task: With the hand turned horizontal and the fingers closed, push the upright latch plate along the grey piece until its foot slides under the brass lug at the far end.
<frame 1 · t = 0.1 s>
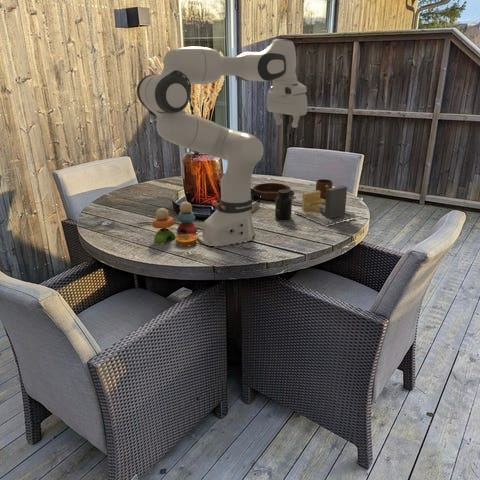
hand: (286, 125, 167), 39 cm above the table, tool pointing down, fingers open, 8 cm apart
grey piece: (326, 216, 187), on the table
mug: (324, 202, 207), on the table
wooden stacking toy: (182, 238, 168), on the table
supplement bottle: (283, 218, 186), on the table
dish: (271, 197, 215), on the table
latch plate: (332, 201, 182), point 8 cm above the table, slide at 0.0 cm
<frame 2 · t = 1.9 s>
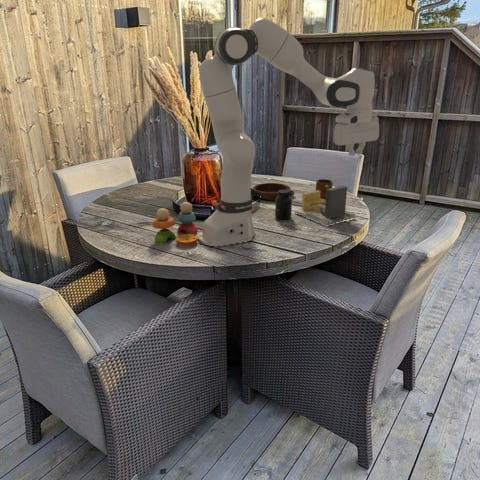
hand: (355, 154, 163), 29 cm above the table, tool pointing down, fingers closed
nothing on the table moved.
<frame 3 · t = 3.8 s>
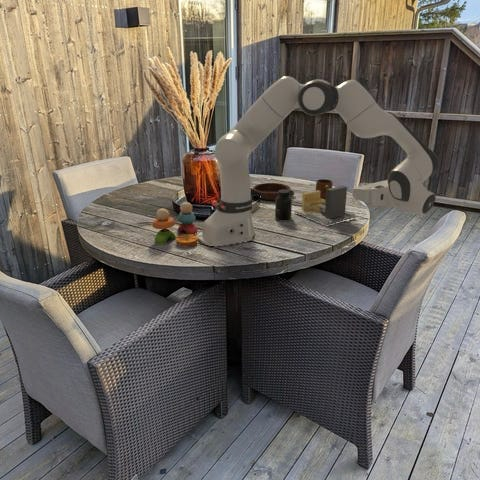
hand: (360, 185, 167), 18 cm above the table, tool horizontal, fingers closed
nothing on the table moved.
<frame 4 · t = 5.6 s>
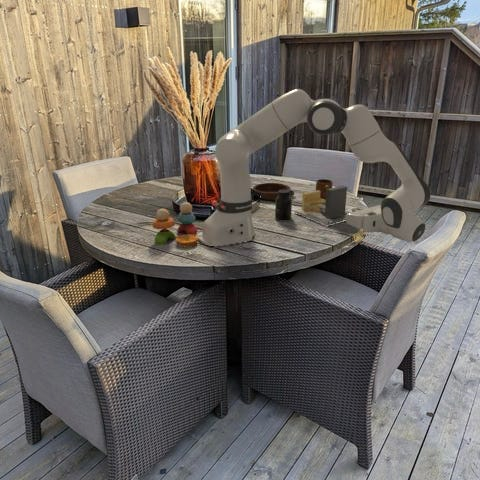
hand: (354, 209, 172), 7 cm above the table, tool horizontal, fingers closed
nothing on the table moved.
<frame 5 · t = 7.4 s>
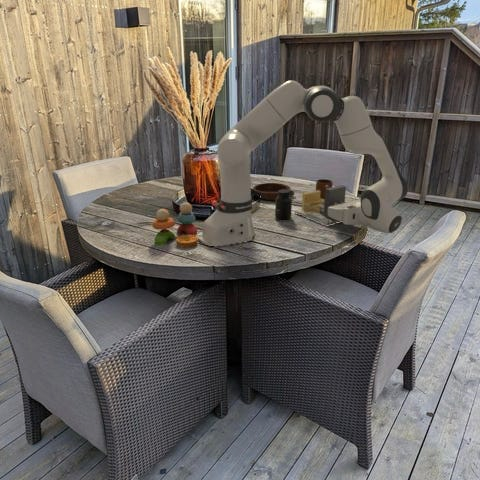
hand: (336, 203, 180), 7 cm above the table, tool horizontal, fingers closed, pressing on latch plate
latch plate: (331, 200, 182), point 8 cm above the table, slide at 0.7 cm, touching gripper
everything else where it was.
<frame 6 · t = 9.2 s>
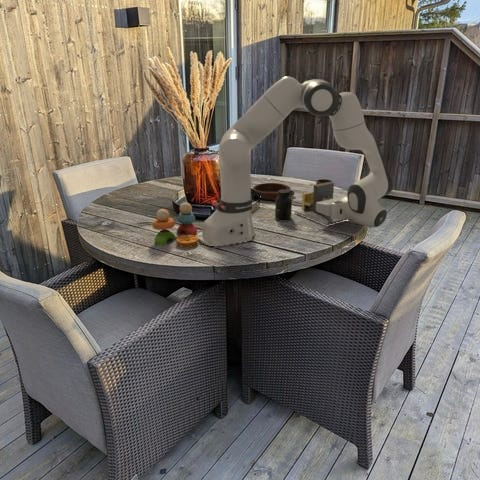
hand: (325, 199, 185), 7 cm above the table, tool horizontal, fingers closed, pressing on latch plate
latch plate: (319, 196, 188), point 8 cm above the table, slide at 7.5 cm, touching gripper
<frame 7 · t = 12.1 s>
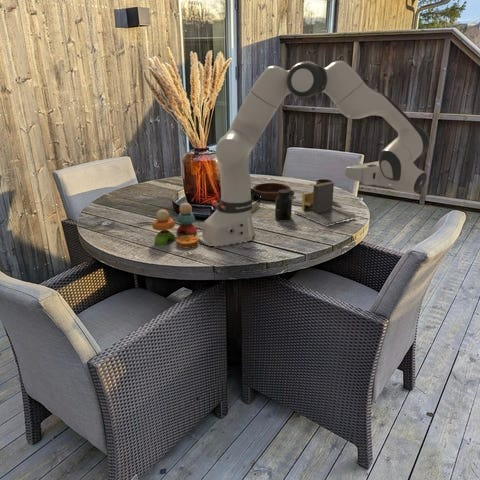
hand: (353, 165, 168), 24 cm above the table, tool horizontal, fingers closed
latch plate: (319, 196, 188), point 8 cm above the table, slide at 7.5 cm
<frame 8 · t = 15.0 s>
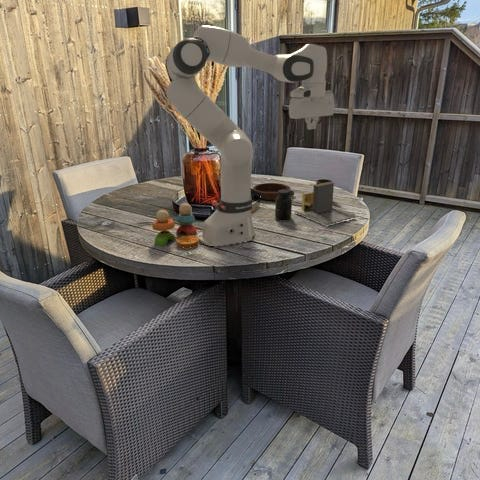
hand: (311, 129, 170), 37 cm above the table, tool pointing down, fingers closed
at the end: latch plate slide at 7.5 cm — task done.
